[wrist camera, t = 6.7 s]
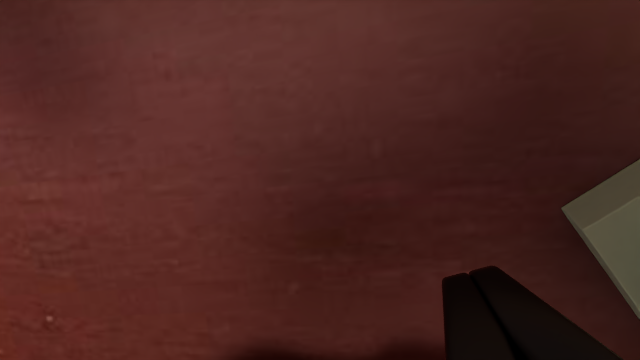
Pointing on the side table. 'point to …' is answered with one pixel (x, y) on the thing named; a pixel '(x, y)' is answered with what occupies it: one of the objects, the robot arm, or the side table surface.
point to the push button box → (613, 229)
